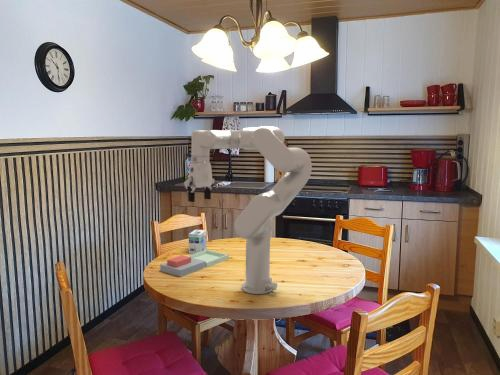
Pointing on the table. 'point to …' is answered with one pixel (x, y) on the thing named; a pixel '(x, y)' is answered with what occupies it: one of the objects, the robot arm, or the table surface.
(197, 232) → the light bulb box
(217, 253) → the tray
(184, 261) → the salmon red thick block
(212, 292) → the table surface
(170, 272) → the grey flat slab
